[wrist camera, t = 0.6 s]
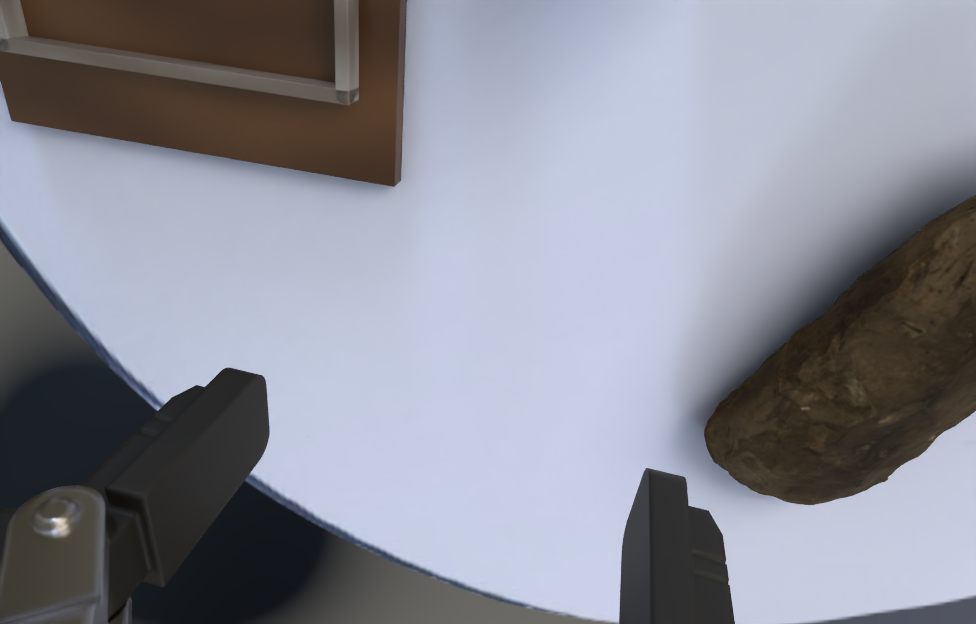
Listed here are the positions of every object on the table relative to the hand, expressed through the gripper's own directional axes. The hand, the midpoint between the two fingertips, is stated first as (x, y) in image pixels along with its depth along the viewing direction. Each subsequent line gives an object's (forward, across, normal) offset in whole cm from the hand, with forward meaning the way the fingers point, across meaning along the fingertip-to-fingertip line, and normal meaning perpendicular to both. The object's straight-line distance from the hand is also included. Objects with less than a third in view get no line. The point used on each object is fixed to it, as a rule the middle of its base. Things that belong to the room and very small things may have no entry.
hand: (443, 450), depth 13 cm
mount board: (+26, +23, -4) cm, 35 cm away
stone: (+26, -20, +8) cm, 34 cm away
